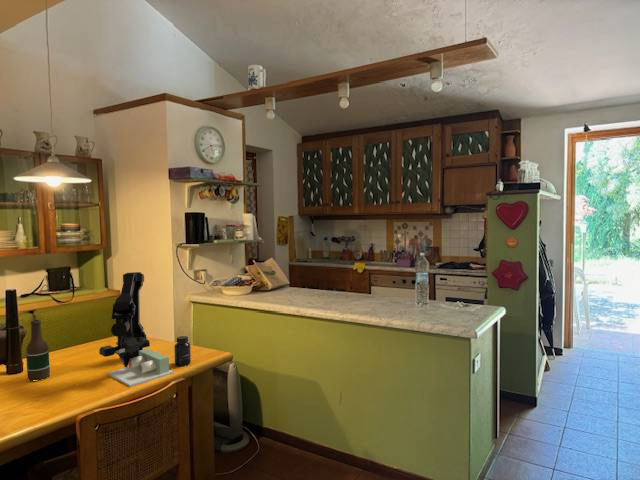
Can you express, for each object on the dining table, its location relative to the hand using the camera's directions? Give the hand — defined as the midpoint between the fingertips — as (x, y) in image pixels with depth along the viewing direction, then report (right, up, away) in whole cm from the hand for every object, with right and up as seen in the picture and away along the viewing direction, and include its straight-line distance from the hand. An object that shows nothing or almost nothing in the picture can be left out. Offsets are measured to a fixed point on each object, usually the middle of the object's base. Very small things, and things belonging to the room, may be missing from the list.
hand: (125, 367), depth 182 cm
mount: (+7, -3, +1) cm, 7 cm away
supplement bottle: (+20, -2, +12) cm, 23 cm away
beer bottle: (-34, -4, -3) cm, 35 cm away
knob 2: (+12, -1, 0) cm, 12 cm away
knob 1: (+5, -1, +6) cm, 8 cm away
